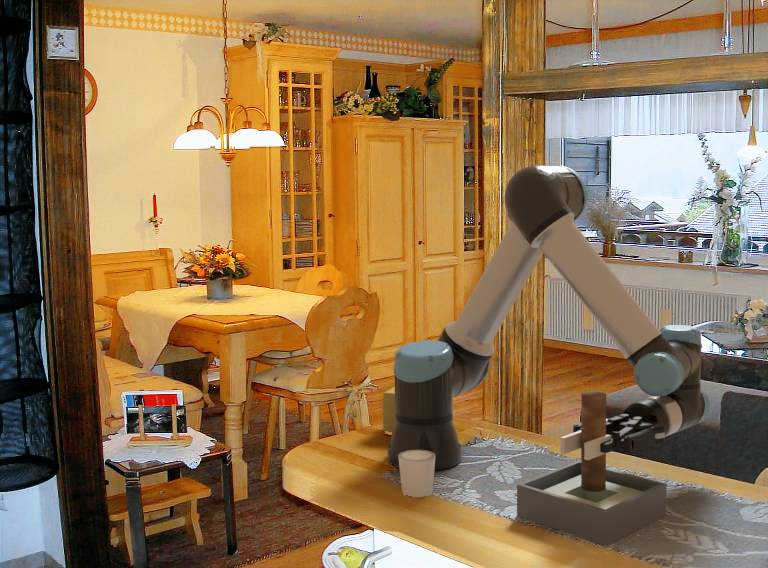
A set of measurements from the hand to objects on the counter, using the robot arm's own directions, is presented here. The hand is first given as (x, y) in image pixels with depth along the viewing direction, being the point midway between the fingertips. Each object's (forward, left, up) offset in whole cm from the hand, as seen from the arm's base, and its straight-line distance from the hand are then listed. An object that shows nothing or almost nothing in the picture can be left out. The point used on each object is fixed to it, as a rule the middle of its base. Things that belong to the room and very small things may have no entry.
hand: (574, 448), depth 145 cm
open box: (0, +5, -13) cm, 14 cm away
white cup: (-29, -7, -13) cm, 33 cm away
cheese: (-57, +19, -13) cm, 62 cm away
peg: (0, +5, -8) cm, 10 cm away
